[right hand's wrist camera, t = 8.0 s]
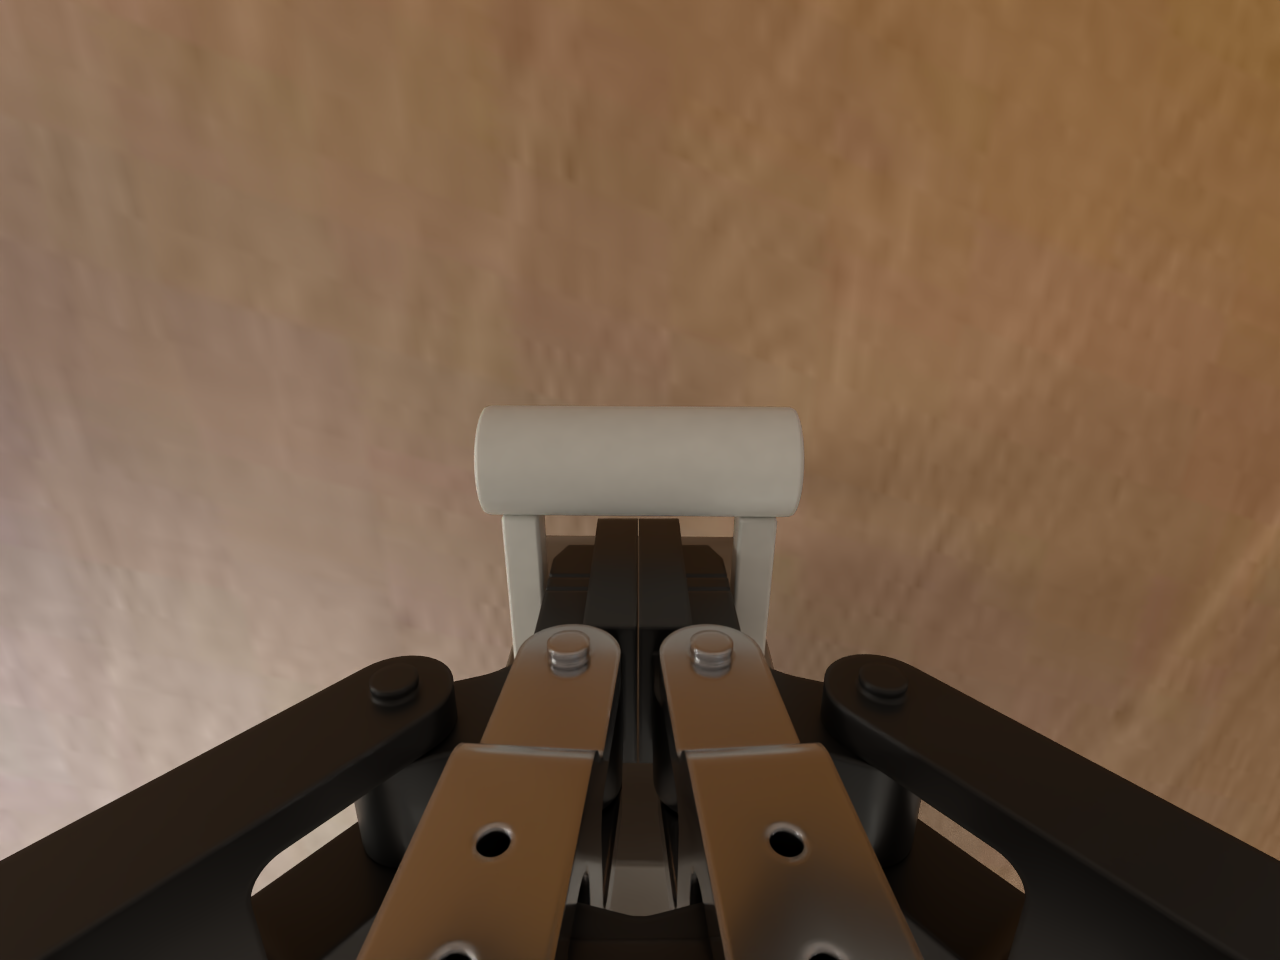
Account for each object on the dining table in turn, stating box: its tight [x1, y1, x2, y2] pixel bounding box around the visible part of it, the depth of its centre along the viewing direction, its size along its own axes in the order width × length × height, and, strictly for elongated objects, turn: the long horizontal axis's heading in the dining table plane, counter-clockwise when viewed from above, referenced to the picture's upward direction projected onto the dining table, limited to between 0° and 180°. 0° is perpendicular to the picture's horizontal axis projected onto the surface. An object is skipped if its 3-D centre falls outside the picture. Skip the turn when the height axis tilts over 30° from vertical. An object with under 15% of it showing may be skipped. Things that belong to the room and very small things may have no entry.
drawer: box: [474, 405, 804, 916], centre depth 17 cm, size 25×5×10 cm, turn 0°
